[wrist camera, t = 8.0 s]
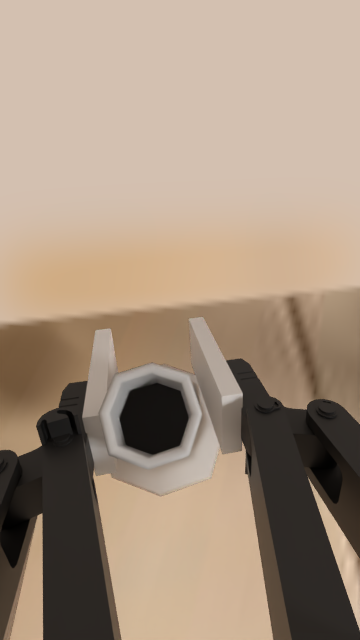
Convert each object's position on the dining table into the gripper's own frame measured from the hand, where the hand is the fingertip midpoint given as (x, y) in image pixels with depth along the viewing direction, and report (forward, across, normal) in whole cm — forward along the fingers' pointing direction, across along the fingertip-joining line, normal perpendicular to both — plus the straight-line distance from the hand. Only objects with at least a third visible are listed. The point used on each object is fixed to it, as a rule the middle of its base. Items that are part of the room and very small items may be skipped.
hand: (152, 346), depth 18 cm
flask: (0, 0, -5) cm, 5 cm away
